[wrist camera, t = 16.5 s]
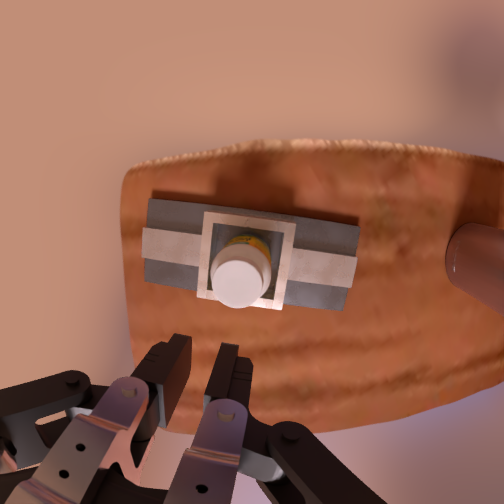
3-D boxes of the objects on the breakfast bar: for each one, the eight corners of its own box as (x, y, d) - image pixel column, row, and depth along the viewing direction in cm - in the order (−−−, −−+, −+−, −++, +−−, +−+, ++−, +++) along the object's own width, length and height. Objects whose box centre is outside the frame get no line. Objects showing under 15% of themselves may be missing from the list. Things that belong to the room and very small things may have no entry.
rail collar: (357, 225, 30) (369, 230, 26) (340, 307, 32) (348, 321, 29) (152, 198, 31) (137, 199, 28) (147, 278, 34) (133, 289, 30)
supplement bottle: (239, 289, 32) (226, 327, 22) (213, 249, 31) (189, 273, 22) (280, 265, 31) (284, 296, 22) (255, 223, 30) (247, 237, 21)
